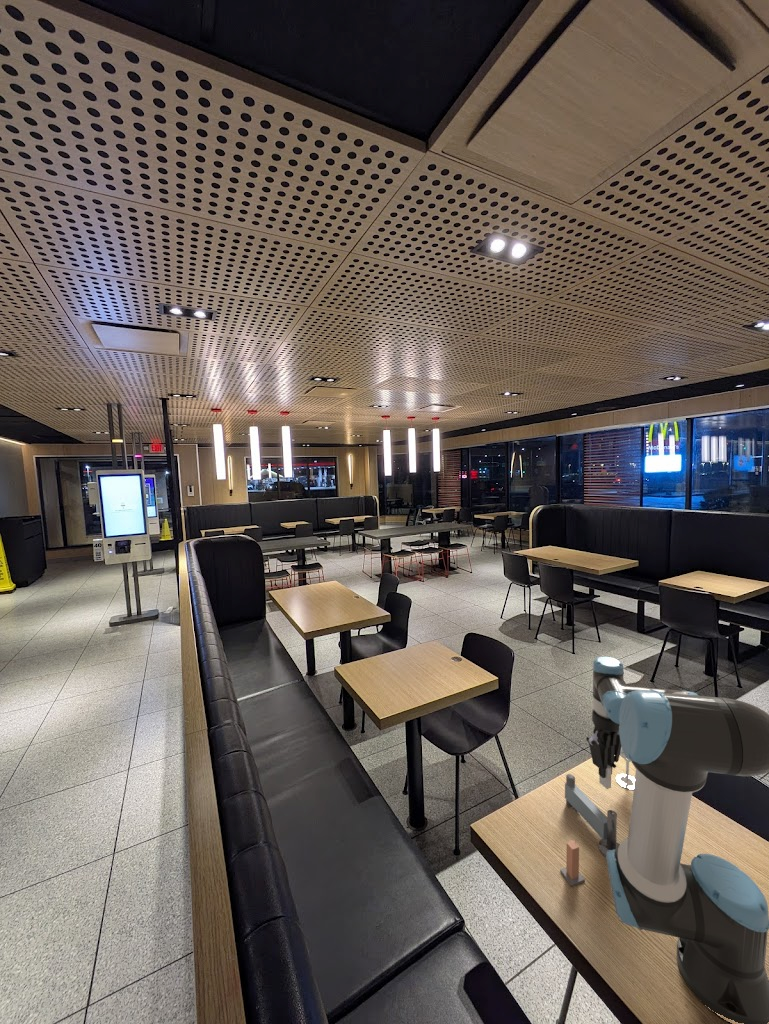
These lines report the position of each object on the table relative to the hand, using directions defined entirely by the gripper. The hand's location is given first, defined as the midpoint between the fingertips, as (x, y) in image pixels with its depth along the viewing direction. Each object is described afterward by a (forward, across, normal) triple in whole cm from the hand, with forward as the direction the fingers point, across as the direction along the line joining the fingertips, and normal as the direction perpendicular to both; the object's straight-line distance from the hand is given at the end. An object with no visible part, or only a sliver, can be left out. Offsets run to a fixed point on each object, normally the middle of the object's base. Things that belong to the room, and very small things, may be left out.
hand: (605, 784), depth 122 cm
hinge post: (+9, +9, +10) cm, 16 cm away
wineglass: (+9, -16, -5) cm, 19 cm away
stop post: (+8, +23, +11) cm, 27 cm away
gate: (+8, +8, +1) cm, 12 cm away
